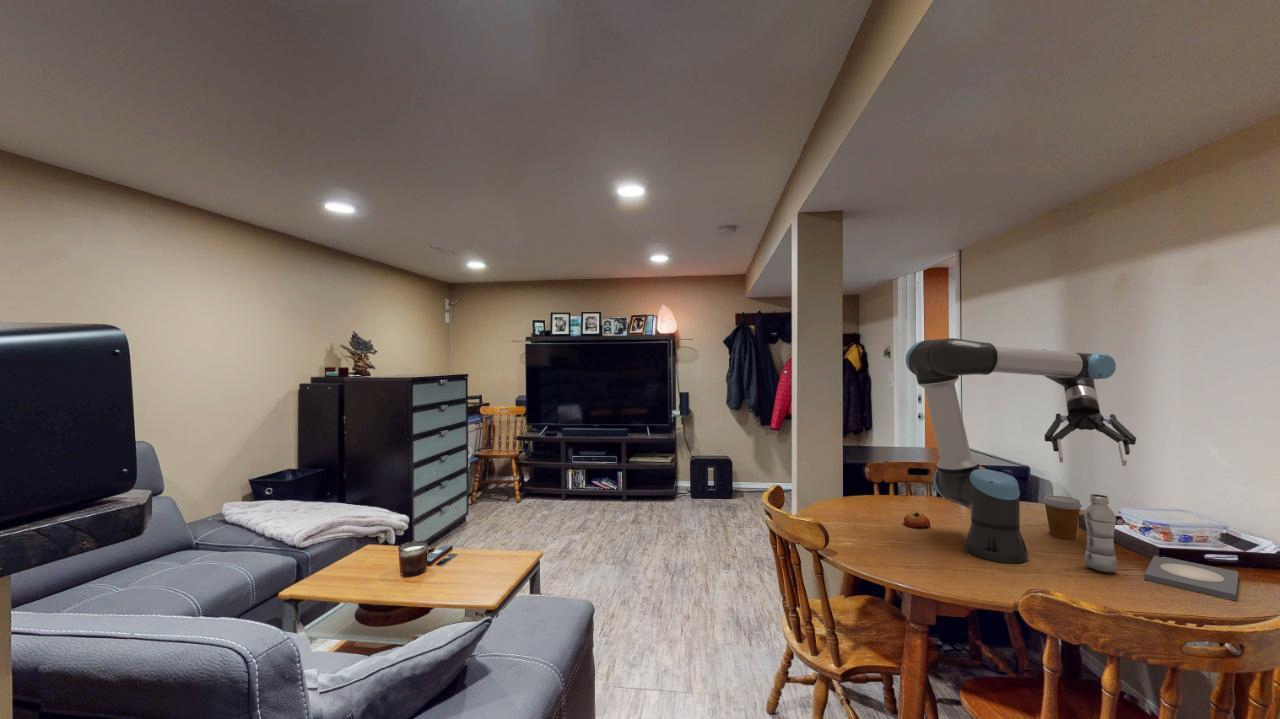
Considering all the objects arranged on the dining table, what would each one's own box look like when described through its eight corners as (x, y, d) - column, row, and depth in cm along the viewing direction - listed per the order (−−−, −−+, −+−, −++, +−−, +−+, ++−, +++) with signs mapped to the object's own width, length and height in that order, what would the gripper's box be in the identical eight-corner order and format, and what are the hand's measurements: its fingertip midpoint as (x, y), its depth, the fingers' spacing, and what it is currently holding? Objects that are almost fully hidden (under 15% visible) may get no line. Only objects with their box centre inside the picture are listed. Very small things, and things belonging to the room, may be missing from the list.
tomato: (897, 521, 171) (906, 503, 173) (902, 530, 175) (911, 513, 177) (921, 530, 165) (930, 512, 167) (926, 540, 168) (935, 522, 171)
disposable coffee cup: (1091, 541, 154) (1090, 502, 154) (1060, 541, 154) (1059, 503, 154) (1065, 531, 163) (1064, 495, 164) (1036, 531, 164) (1035, 495, 164)
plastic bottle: (1110, 567, 134) (1109, 494, 134) (1122, 577, 128) (1120, 500, 128) (1080, 564, 137) (1078, 491, 137) (1090, 573, 131) (1088, 497, 131)
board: (1235, 601, 115) (1235, 593, 115) (1144, 579, 127) (1144, 573, 127) (1238, 577, 127) (1238, 571, 127) (1154, 560, 139) (1154, 554, 139)
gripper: (1136, 411, 149) (1151, 472, 137) (1031, 410, 164) (1037, 465, 152) (1139, 395, 145) (1155, 456, 133) (1031, 396, 160) (1036, 451, 148)
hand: (1092, 461), depth 143 cm, fingers open, 13 cm apart
